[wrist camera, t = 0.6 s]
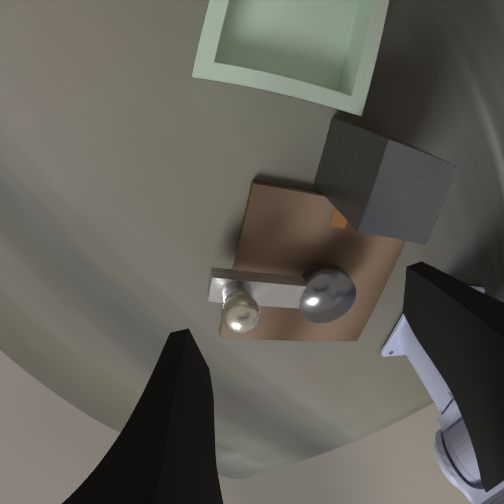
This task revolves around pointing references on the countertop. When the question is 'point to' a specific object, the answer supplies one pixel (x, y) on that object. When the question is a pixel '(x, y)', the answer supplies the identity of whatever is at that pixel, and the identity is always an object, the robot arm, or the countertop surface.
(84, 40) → the countertop surface
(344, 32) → the tray
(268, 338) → the crank base
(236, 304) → the crank
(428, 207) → the block
